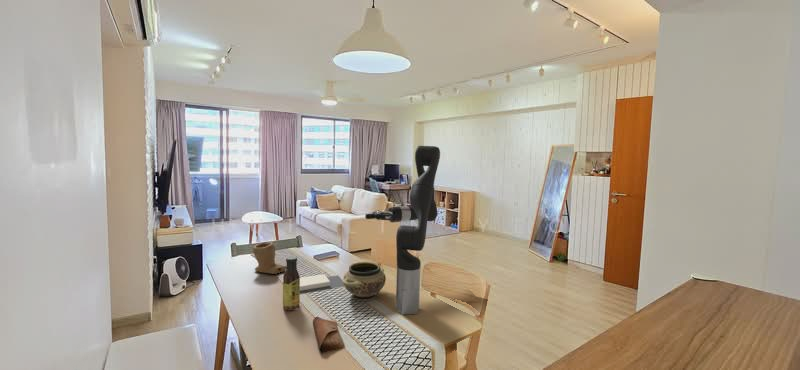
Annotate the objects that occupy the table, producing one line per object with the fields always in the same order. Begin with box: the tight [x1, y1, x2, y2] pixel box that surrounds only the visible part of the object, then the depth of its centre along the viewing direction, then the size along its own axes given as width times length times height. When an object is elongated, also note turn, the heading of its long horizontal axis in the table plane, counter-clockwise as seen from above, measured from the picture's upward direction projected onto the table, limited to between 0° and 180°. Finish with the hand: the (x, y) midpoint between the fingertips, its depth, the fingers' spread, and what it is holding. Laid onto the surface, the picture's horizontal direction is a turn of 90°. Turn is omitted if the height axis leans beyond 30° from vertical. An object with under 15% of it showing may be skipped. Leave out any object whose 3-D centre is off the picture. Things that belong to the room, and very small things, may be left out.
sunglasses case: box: [312, 316, 346, 354], centre depth 109 cm, size 18×7×7 cm
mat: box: [300, 275, 345, 295], centre depth 150 cm, size 24×14×1 cm, turn 118°
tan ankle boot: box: [252, 241, 287, 275], centre depth 165 cm, size 15×12×15 cm
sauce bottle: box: [282, 256, 301, 312], centre depth 127 cm, size 7×6×20 cm
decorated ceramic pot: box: [342, 261, 387, 301], centre depth 139 cm, size 24×18×15 cm
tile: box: [300, 274, 330, 291], centre depth 149 cm, size 2×10×14 cm
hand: (366, 216), depth 150 cm, fingers closed
